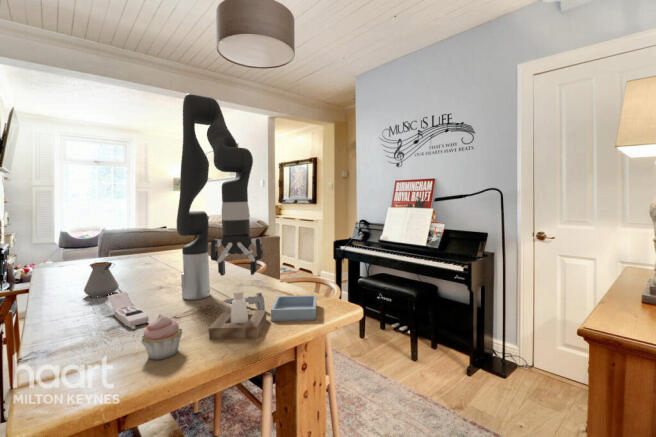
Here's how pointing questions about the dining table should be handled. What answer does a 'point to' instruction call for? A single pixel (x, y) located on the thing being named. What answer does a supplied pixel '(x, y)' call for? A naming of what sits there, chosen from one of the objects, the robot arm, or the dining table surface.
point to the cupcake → (161, 337)
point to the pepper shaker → (239, 308)
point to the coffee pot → (101, 280)
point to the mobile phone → (127, 310)
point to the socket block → (238, 326)
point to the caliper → (252, 301)
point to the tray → (294, 308)
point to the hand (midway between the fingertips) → (238, 274)
